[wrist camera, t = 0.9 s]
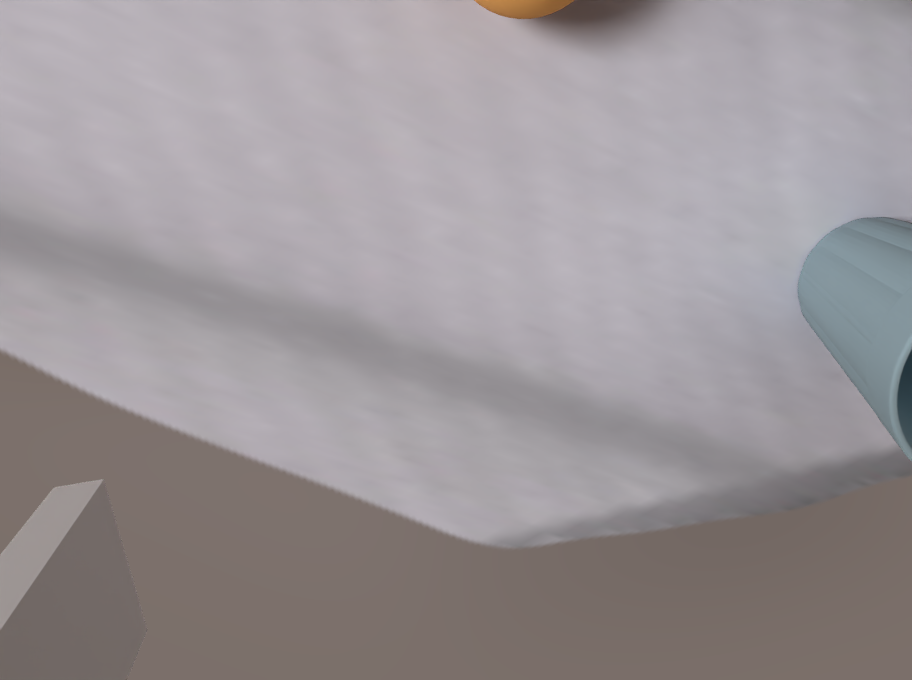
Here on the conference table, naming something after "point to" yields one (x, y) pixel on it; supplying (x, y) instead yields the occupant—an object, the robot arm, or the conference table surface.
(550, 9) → the ball
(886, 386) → the cup
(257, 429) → the conference table surface
